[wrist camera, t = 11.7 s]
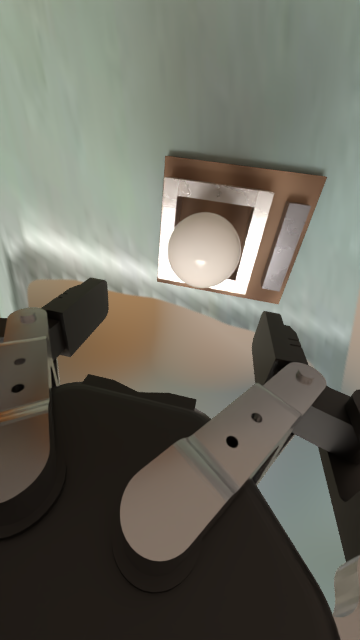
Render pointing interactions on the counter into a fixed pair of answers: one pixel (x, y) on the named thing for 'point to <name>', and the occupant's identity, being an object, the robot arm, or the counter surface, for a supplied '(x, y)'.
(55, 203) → the counter surface
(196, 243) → the lightbulb
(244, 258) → the jig
